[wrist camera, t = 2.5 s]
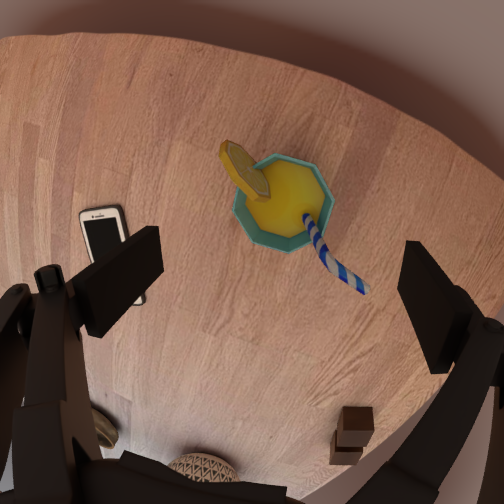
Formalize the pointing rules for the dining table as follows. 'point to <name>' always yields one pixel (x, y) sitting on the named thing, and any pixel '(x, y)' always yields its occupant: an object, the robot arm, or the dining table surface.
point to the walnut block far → (343, 453)
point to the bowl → (104, 430)
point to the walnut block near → (355, 427)
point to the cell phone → (104, 232)
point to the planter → (204, 468)
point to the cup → (283, 205)
